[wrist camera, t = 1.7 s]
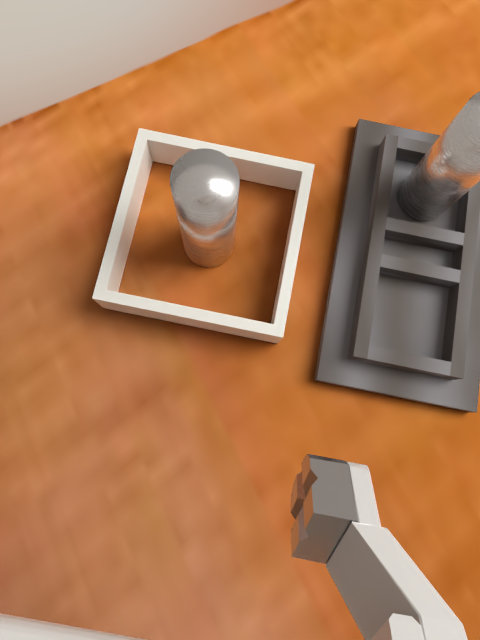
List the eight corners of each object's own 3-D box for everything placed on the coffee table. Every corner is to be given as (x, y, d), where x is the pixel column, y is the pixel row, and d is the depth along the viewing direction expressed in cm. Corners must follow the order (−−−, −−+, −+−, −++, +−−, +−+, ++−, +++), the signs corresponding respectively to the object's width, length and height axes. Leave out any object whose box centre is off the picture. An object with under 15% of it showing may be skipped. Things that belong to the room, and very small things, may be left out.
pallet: (492, 154, 38) (511, 137, 35) (469, 412, 33) (488, 412, 31) (355, 126, 38) (365, 106, 35) (313, 380, 33) (321, 378, 31)
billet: (238, 225, 36) (245, 156, 26) (228, 272, 35) (232, 218, 25) (189, 215, 36) (178, 142, 26) (178, 261, 35) (162, 204, 25)
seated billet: (448, 181, 36) (533, 96, 26) (443, 226, 35) (529, 156, 25) (400, 171, 36) (467, 82, 26) (394, 216, 35) (461, 142, 25)
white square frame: (306, 184, 36) (314, 164, 34) (277, 343, 34) (283, 337, 31) (145, 150, 36) (139, 128, 33) (103, 307, 34) (91, 298, 31)
